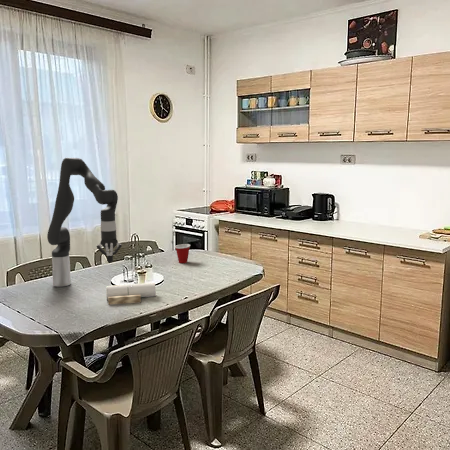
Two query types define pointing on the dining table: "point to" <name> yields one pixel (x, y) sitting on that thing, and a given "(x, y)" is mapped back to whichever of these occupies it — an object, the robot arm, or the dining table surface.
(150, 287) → the cylindrical container
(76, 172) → the robot arm
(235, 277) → the dining table surface
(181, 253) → the plastic cup
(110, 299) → the rest
